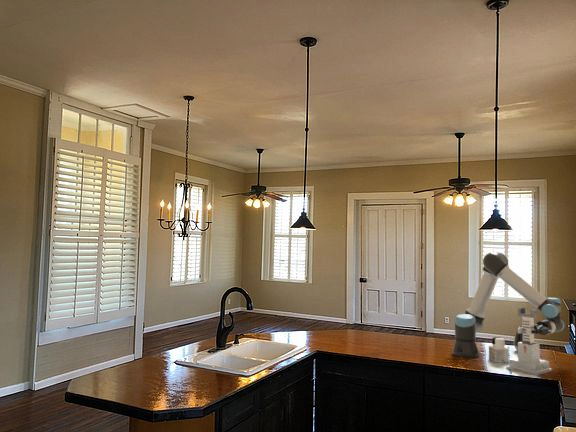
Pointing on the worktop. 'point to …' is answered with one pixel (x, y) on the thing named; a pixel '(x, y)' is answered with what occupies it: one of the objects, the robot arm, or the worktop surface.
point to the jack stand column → (528, 323)
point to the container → (498, 350)
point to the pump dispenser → (518, 339)
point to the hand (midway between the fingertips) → (522, 331)
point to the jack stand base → (529, 360)
